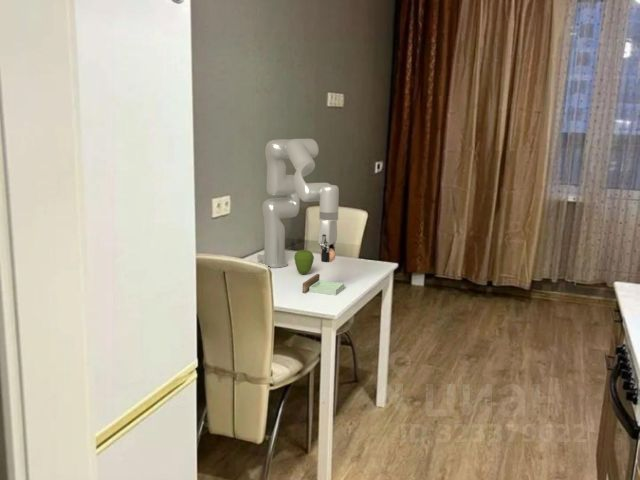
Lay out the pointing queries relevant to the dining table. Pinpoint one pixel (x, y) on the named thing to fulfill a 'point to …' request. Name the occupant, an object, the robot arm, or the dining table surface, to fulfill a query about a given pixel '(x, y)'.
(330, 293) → the tray
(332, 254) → the ball
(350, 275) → the dining table surface
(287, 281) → the dining table surface
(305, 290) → the board
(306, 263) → the apple
